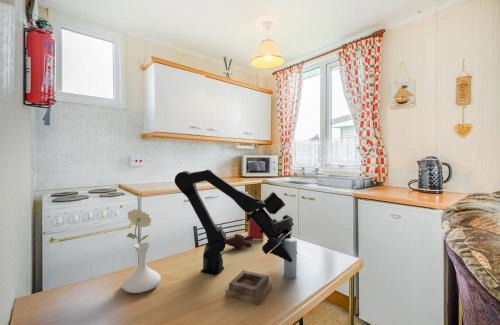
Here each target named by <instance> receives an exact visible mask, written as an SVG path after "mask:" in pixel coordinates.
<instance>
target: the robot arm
mask: <svg viewBox="0 0 500 325" xmlns="http://www.w3.org/2000/svg"><path fill="white" fill-rule="evenodd" d="M203 182H206V183H207V182H208V184H211V185H212V186H213V187H215V188H216V189H217V190H219V191H221V192H222V193H223V194H225V195H226V196H227V197H229V198H231V199H232V200H233V201H234V203H236V204H237V206H238V207H240V208H241V209H242V211H244V212H245V213H246V222H249V221H250V220H251V219H253V221H254V222H255V223H256V224H257V226H258V227H259V228H260V229H261V231H260V233H261V234H262V233H264V234H265V237H266V238H267V239H266V243H264V244H263V245H262V246H261V249H262V252H263V253H264V254H265V255H267V254H268V253H269V255H274V256H277V257H278V258H281V259H282V260H284V259H285V260H287V261H289V262H292V261H293V260H292V258H291V256H290V255H289V253H288V252H287V251H286V249H285V248H284V240H285V239H292V231H293V226H295V225H294V222H293V221H294V219H293V217H292V216H289V215H288V214H285V215H283V216H282V219H280V220H277V219H276V218H272V217H271V216H270V215H276V214H277V213H278V212H279V211H281V209H283V208H284V207H285V206H286V203H285V202H284V201H283V199H282V198H280V197H279V196H278V195H277V194H276V192H274V191H271V193H269V195H268V196H267V197H266V198H265V199H263V200H262V199H260V198H255V197H254V196H253V195H251V194H249V193H247V192H244V191H243V190H239V189H237V188H236V187H235V186H233V185H232V184H230V183H229V182H227V181H226V180H224V179H223V178H222V177H220V176H219V175H218V174H216V173H215V172H214V171H212V170H211V169H205V170H199V171H194V172H191V171H188V170H183V171H180V172H178V173H177V174H176V175H175V177H174V184H175V186H176V187H177V188H178V189H179V191H180V192H181V193H182V194H183V195H184V196H185V197H186V198H187V200H188V202H189V203H190V206H192V209H193V211H194V212H195V215H196V216H197V218H198V219H199V222H200V224H201V226H202V228H203V229H204V231H205V232H204V233H205V236H206V240H207V243H206V244H205V247H204V250H203V253H202V254H203V255H202V256H203V257H202V269H201V270H200V273H202V274H206V275H210V276H216V275H218V274H219V273H220V272H222V271H223V270H224V269H225V266H224V258H223V254H222V252H223V251H224V250H225V249H226V245H227V244H226V239H227V233H226V232H225V231H224V229H223V227H222V225H220V226H218V225H217V224H216V223H215V222H214V219H213V218H212V216H211V214H210V213H209V211H208V209H207V207H206V205H205V203H204V201H203V200H202V197H201V196H200V193H199V191H198V188H197V183H203ZM256 209H259V210H258V211H257V210H256ZM250 212H252V213H251V214H250ZM267 212H268V213H269V214H268V213H267Z"/></svg>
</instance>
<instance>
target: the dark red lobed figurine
mask: <svg viewBox="0 0 500 325" xmlns="http://www.w3.org/2000/svg"><path fill="white" fill-rule="evenodd" d="M252 239H253V236H244V235H242V234H238V233H235V234H234V235H233V236H232V237H229V238H226V245H227V246H230V247H233V248H234V249H235V250H236V251H237V250H240V249H243V248H244V247H246V248H251V247H252V246H253V244H252V243H251V241H253V240H252ZM249 241H250V242H249Z"/></svg>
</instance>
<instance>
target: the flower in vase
mask: <svg viewBox="0 0 500 325" xmlns="http://www.w3.org/2000/svg"><path fill="white" fill-rule="evenodd" d="M149 216H150V214H148V213H147V212H145V211H143V210H142V209H139V210H138V209H137V208H134V209H132V210H129V211H128V212H127V219H129V221H130V222H131V223H132V224H133V225H134V226H135V228H134V233H132V232H128V234H127V235H126V238H130V239H132V240H135V239H136V240H137V243H134V244H133V248H134V249H135V251H136V253H137V260H138V261H137V262H138V265H137V267H136V269H135V270H134V271H133V272H132V273H131V274H129V275H128V276H127V277H126V278H125V279H124V280H123V283H122V285H121V286H122V289H123V290H124V291H125V292H126V293H130V294H140V293H145V292H149V291H150V290H152V289H154V288H156V287H157V286H158V285H160V282H161V281H162V276H161V274H160V273H158V272H157V271H156V270H154V269H152V268H150V267H149V266H148V265H147V253H148V249H149V247H150V246H151V242H150V241H144V240H145V239H147V238H148V237H149V234H147V235H144V236H142V237H141V238H140V239H139V238H138V236H137V233H136V232H137V227H139V228H145V227H150V226H151V223H152V222H151V221H152V220H151V219H152V218H151V217H149Z"/></svg>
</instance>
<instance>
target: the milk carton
mask: <svg viewBox="0 0 500 325" xmlns="http://www.w3.org/2000/svg"><path fill="white" fill-rule="evenodd" d="M256 210H257V211H258V210H259V209H256ZM251 213H252V212H250V213H249V214H251ZM260 231H261V229H260V228H259V227H258V226H257V224H256V223H255V222H254V221H253V219H251V220H250V221H248V228H247V236H253V239H252V240H251V241H257V240H263V241H264V240H265V237H266V235H265V234H264V233H262V234H261V233H260ZM247 236H246V237H247ZM264 236H265V237H264Z"/></svg>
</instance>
